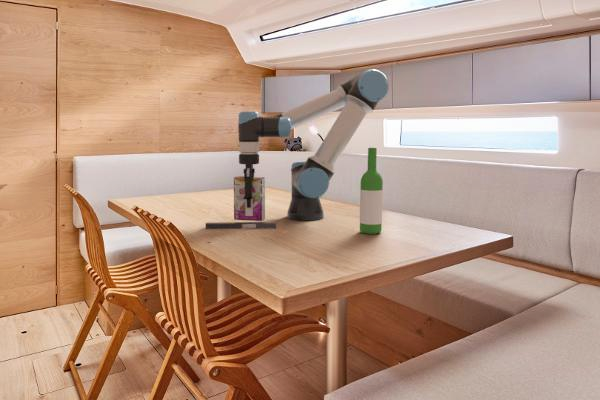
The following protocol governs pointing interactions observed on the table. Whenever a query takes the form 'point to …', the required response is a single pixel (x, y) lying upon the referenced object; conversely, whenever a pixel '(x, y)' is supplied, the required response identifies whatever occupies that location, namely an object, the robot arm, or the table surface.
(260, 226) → the price rail
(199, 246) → the table surface
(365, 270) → the table surface
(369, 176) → the wine bottle
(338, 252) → the table surface
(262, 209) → the candy bar box
